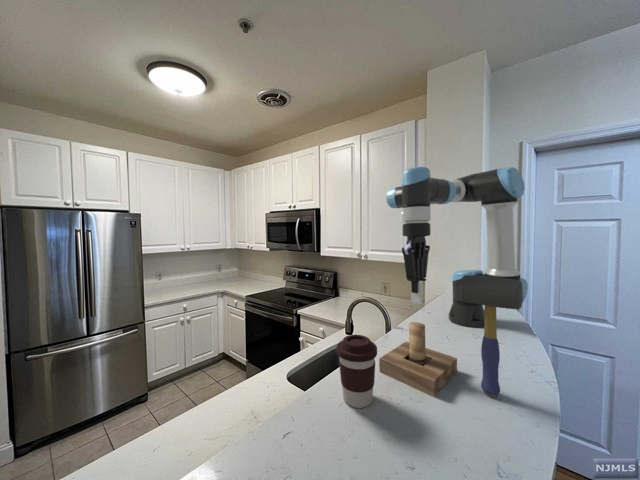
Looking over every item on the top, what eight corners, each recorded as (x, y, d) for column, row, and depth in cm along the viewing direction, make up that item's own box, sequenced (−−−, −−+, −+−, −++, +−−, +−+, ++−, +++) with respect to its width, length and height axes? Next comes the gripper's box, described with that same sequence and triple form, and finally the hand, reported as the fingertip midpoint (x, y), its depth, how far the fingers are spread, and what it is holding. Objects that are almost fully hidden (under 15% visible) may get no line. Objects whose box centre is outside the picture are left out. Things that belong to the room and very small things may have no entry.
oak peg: (413, 365, 77) (413, 320, 77) (429, 371, 74) (428, 324, 73) (406, 371, 74) (405, 324, 73) (422, 377, 70) (421, 329, 70)
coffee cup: (364, 382, 69) (363, 329, 68) (386, 406, 60) (385, 344, 59) (331, 392, 65) (330, 335, 65) (349, 418, 56) (348, 352, 56)
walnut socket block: (406, 352, 85) (406, 341, 85) (457, 371, 73) (457, 358, 73) (379, 371, 74) (379, 358, 74) (434, 396, 62) (433, 381, 62)
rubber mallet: (524, 398, 61) (524, 276, 60) (519, 414, 56) (520, 281, 55) (467, 377, 70) (466, 271, 69) (458, 390, 65) (457, 275, 64)
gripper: (414, 223, 79) (415, 296, 80) (392, 222, 71) (393, 305, 71) (438, 222, 74) (439, 301, 75) (418, 221, 65) (419, 311, 66)
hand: (416, 303), depth 73 cm, fingers closed
